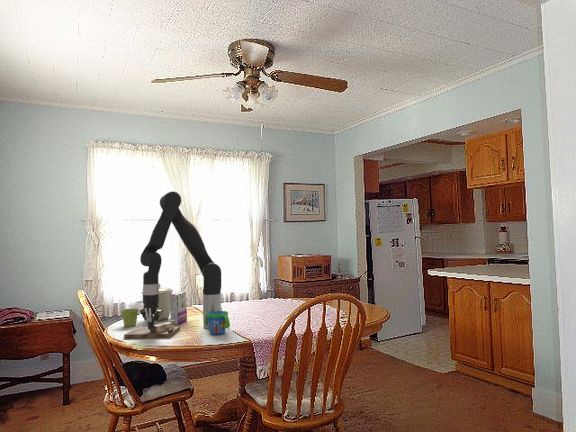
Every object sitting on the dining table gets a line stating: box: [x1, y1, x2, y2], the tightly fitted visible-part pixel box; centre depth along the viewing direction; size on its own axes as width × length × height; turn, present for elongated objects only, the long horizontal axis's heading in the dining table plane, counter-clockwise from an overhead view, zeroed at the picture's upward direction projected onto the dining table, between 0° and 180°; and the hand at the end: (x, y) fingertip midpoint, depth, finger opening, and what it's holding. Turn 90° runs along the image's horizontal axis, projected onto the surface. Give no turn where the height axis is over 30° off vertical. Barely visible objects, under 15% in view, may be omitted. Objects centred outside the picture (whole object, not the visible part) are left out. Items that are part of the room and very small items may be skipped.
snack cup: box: [205, 310, 231, 336], centre depth 208 cm, size 16×10×10 cm
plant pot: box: [120, 308, 140, 328], centre depth 234 cm, size 9×9×9 cm
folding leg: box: [150, 319, 176, 334], centre depth 210 cm, size 14×3×4 cm, turn 151°
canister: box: [141, 282, 174, 322], centre depth 252 cm, size 18×18×21 cm
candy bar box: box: [170, 291, 188, 326], centre depth 239 cm, size 11×5×16 cm, turn 168°
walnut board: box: [123, 326, 181, 340], centre depth 210 cm, size 22×16×4 cm
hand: (150, 329), depth 207 cm, fingers closed
